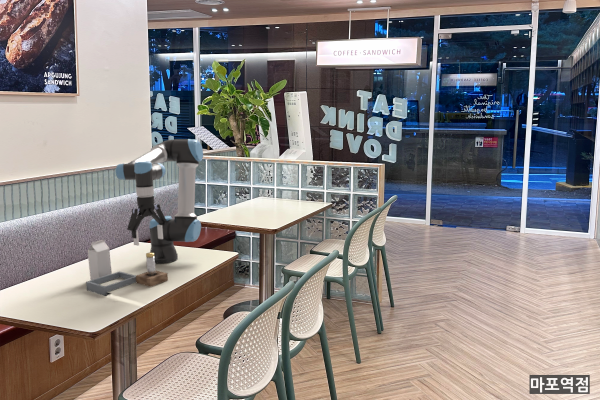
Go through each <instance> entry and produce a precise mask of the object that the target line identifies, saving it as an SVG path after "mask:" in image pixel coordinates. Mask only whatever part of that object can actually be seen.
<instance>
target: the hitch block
mask: <svg viewBox="0 0 600 400" xmlns="http://www.w3.org/2000/svg"><path fill="white" fill-rule="evenodd" d="M135 275H136V274H135ZM168 276H169V275H168V272H164V271H160V270H156V275H155V276H152V277H150V276H148V272H147V271H146V272H143V273H140V274H137V275H136V282H135V283H136V284H138V285H143V286H147V287H151V288H152V287H154V286H156V285H160V284H163V283H165V282H168V281H169V277H168Z"/></svg>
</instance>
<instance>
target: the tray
mask: <svg viewBox="0 0 600 400" xmlns="http://www.w3.org/2000/svg"><path fill="white" fill-rule="evenodd" d="M119 278H121V279H123V280H120V281H118V282H117V281H116V282H114V283H111V284H107V285H101V284H102V283H103V284H104V283H107V282H109V281H110V282H111V281H113V280H116V279H119ZM135 283H137V282H136V274H132V273H128V272H124V271H120V270H119V271H116V272H113V273H112V274H110V275H106V276H103V277H100V278H97V279H94V280H87V281H85V285H86V286H85V287H86V291H88V292H91V293H94V294H98V295H101V296H104V297H107V296H110V295H112V293H111V292H112V291H114V290H117V289H120V288H124V287H127V286H129V285H132V284H135Z"/></svg>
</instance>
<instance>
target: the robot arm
mask: <svg viewBox="0 0 600 400" xmlns="http://www.w3.org/2000/svg"><path fill="white" fill-rule="evenodd" d="M203 158H204V150H203V146H202V144H201V142H200V141H199V140H198V139H191V138H188V139H187V138H185V139H184V138H183V139H182V138H181V139H179V138H178V139H169V140H167V139H166V140H165V141H161V142H159V143H157V144H155V145H154V146H152V147H151V148H150V150H149V151H147V152H145V153H143V154H142V155H140V156H138V157H136V158H135V159H133V160H131V161H129V162H128V163H119V164H117V165H116V167H115V171H114V172H115V176H116V178H117V180H120V181H121V180H123V181H135V190H136V196H137V197H136V204H137V208H134V207H133V208H131V215H130V218H129V221H128V225H127V228H126V230H127V231H130V232H131V238H132V240H133V246H140V241H139V240H140V239H139V231H138V228H139V226H140V224H141V223H142V221H143V219H144V218H147V217H152V219H151V220H150V221H149V227H148V228H149V235H150V237H149V238H150V251H149V253H150V252H153V253H154V258H155V265H158V264H160V265H161V264H170V263H173V262H175V261H177V260H178V259H179V257H178V253H177V250H176V247H175V245H174V242H184V243H191V242H195V241H197V240H198V238H199V237H200V235H201V229H202V224H201V221H200V219H198V216H197V215H196V213H195V205H196V203H195V200H196V172H197V171H196V170H197V168H198V167H199V163H200V162H202V161H203ZM165 162H175V164H176V165H177V167H178V187H177V188H178V189H177V190H178V191H177V192H178V193H177V194H178V195H177V213H176V214H175V215H174V218H172V216H171V215H164V212H163V211H162V209H161V204H160V203H159V204H157V203H155V196H154V195H155V191H154V190H155V189H154V181H156V180H160V179H162V178H163V177H165V175H166V171H167V170H166V167H165V166H164V164H163V163H165ZM155 211H156V212H155Z"/></svg>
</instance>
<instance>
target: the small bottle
mask: <svg viewBox="0 0 600 400" xmlns="http://www.w3.org/2000/svg"><path fill="white" fill-rule="evenodd" d="M145 258H146V269H147V271H146V272H148V276H150V277H152V276H155V275H156V271H157V270H156V264H155V258H154V253H153V252H150V251H149V252H147V253H145Z"/></svg>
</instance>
